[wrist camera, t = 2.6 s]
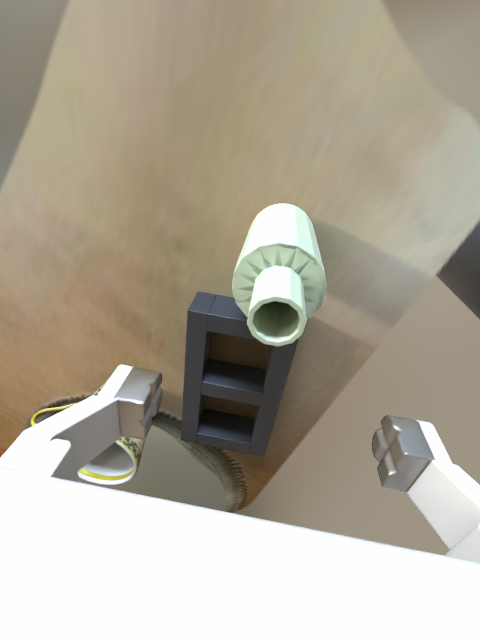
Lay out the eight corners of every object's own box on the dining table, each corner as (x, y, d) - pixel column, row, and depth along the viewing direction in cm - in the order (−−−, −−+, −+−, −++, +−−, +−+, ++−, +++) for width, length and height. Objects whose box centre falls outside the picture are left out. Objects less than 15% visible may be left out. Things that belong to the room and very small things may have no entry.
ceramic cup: (176, 383, 40) (146, 450, 32) (155, 427, 46) (125, 495, 37) (79, 342, 39) (21, 402, 31) (69, 393, 44) (18, 456, 36)
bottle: (321, 209, 27) (350, 282, 15) (304, 270, 30) (317, 374, 18) (255, 198, 27) (227, 260, 15) (245, 260, 31) (216, 355, 18)
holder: (299, 309, 33) (300, 330, 29) (265, 431, 43) (264, 457, 40) (197, 291, 33) (187, 309, 30) (189, 416, 44) (180, 440, 40)
